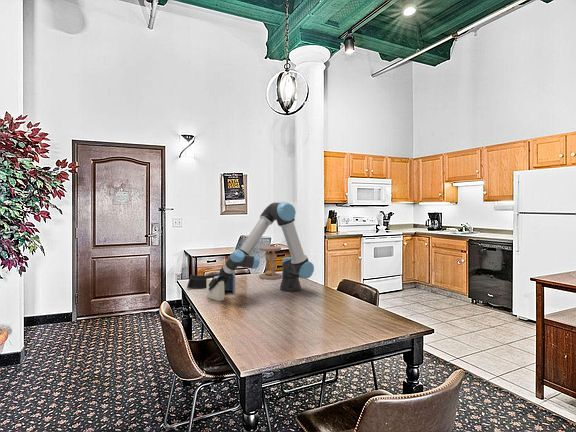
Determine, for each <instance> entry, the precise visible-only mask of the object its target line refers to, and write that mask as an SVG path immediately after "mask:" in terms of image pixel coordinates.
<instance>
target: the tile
mask: <svg viewBox="0 0 576 432" xmlns="http://www.w3.org/2000/svg"><path fill="white" fill-rule="evenodd" d="M212 279H213V278H209V279H207V288H206V298H207V299H211V300H215V301H217V302H221V301H225V295H224V281H221V282H218V283H217V285H216V286H215V287H214V289H213V291H212V292H211V293H210V294H208V292H207V290H208V289H209V283H210V282H211V280H212Z"/></svg>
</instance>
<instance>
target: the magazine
mask: <svg viewBox="0 0 576 432" xmlns="http://www.w3.org/2000/svg"><path fill="white" fill-rule="evenodd" d="M218 274H219V273H215V274H206V275H197V274H196V275H194V274H190V276H189V279H188V282H187V287H186V288H187V289H198V290H199V289H200V290H202V289H203V290H204V289H207V279H209V278H213V276H218Z"/></svg>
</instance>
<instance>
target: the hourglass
mask: <svg viewBox="0 0 576 432" xmlns="http://www.w3.org/2000/svg"><path fill="white" fill-rule="evenodd" d="M281 250H282V247H281V246H275V245H274V246H272V245H270V246H269V245H267V246H260V247H259V251H262V252H265V253H264V257H265V265H264V267H265V271H264V273H260V274H259V279H261V280H265V279H266V280H267V281H269V280H271V281H272V280H273V281H274V280H280V279H282V278H281V277H282V274H280V273H276V265H275V262H276V255H277V254H276V252H279V251H281ZM270 264H271V269H269V268H270Z"/></svg>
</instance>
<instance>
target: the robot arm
mask: <svg viewBox="0 0 576 432" xmlns="http://www.w3.org/2000/svg"><path fill="white" fill-rule="evenodd" d="M295 217H296V208H295V207H294V205H293V204H291V203H289V202H286V201H285V202H284V201H283V202H272V203H270V204H269V205H267V206H266V207H265V208H264V209H263V211H262V212H261V214H260V215H259V220H258V221H257V223H256V224H255V225H254V227H253V229H252V230H251V232H250V233H249V235H248V236H247V237H246V239H245V240H244V242H243V244H242V245H241V247H240V248H239V249H235V250H233V251H232V252H231V253H230V254H229V257H228V258H227V260H226V261H225V262H224V263H223V265H222V266H221V268H220V269H219V273H217V274H218V276H213V279H212V280H211V282H210V283H209V289H208V290H207V289H206V293H207V292H208V294H210V293H211V292H212V291H213V289H214V287H215V286H216V285H217V283H218V282H221V281H224V285H225V284H226V283H227V281H228V280H229V279H230V278H231V277H232V274H233V272H236V269H237V268H238V267H241V268H247V269H251V270H252V269H255V270H256V269H258V268H259V266H260V259H259V256H254V255H251V254H252V253H253V250H254V249H255V247H256V246H257V245H258V244H259V241H260V240H261V239H262V237H263V236H264V234H265V232H266V231H267V229H268V228H269V226H271V225H272V224H273V223H274V222H275V221H276V223H277V226H278V227H280V228H281V230H282V233H283V237H284V239H285V242H286V245H287V248H288V251H289V254H290V256H287V257H283V258H282V262H281V264H282V266H281V267H282V271H281V272H282V273H281V277H282V278H281V281H280V285H279V290H280V291H282V292H290V293H291V292H292V293H293V292H299V291H301V290H302V285H301V282H300V281H301V280H300V279H305V280H307V279H310V278H311V277H312V276H313V273H314V271H315V266H314V264H313V263H312V262H311V261H310V260H309V259H308V258H309V257H308V256H307V254H305V252H304V250H303V247H302V244H301V241H300V238H299V235H298V232H297V229H296V226H295V223H294V222H295V220H296V218H295Z"/></svg>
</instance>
